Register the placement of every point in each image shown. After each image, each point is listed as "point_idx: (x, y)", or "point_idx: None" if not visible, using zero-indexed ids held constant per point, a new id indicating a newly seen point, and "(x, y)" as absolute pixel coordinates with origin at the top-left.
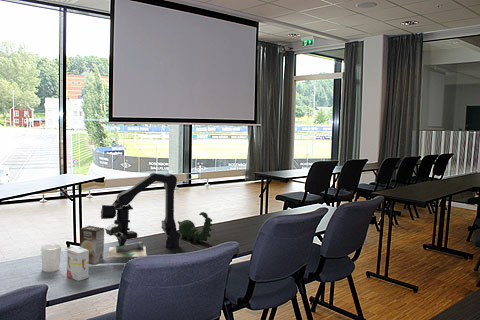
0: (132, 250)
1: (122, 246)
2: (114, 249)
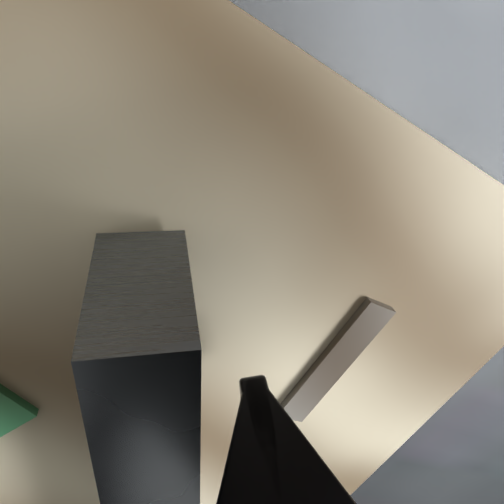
0: None
1: (98, 471)
2: (411, 277)
